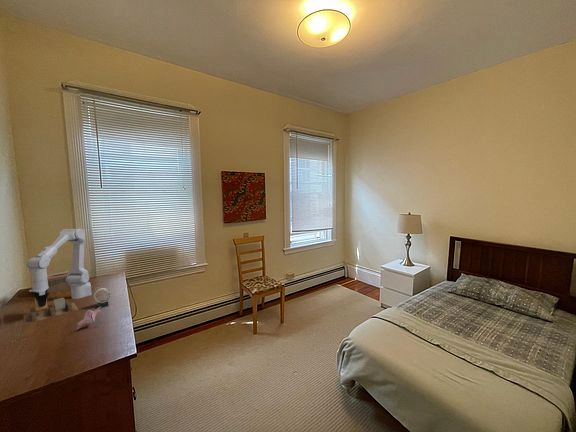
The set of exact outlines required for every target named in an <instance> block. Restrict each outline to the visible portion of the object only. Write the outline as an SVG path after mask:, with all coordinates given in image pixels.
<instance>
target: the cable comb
mask: <svg viewBox="0 0 576 432" xmlns="http://www.w3.org/2000/svg"><path fill="white" fill-rule="evenodd" d="M65 306H66V310H63V311H60V312H55V309H54V304H53V303H47V308H45V309H42V310H38V311H36V308H35V307H32V308H29V311H30V313H28V314H27V313H26V314H24V315H22V316H23V322H24V325H28V324H32V323H36V322H38V321H39V322H40V321H42V320H46V319H50V318H53V317H57V316H60V315H64V314H67V313H71V312H75V311H78V310H79V308H78V307H77V305H76V304H75V302H70V300H69V299H65Z"/></svg>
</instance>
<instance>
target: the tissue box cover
mask: <svg viewBox="0 0 576 432" xmlns="http://www.w3.org/2000/svg"><path fill="white" fill-rule="evenodd" d="M71 270H72V269H71ZM71 270H70V269H69V270H66V271H61V272H54V273H47V279H48V286H49V288H48V291H47V292H49V293H50V294H52V293H51V292H55V293H57V292H56V291H59V292H62V291H61V290H64V291H66V290H65V289H68V290H71V289H70V288H71V285H69V284H68V283H67V281H66V278H67V276H68V272H69V271H71ZM75 274H80V273H75Z"/></svg>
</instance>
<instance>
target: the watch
mask: <svg viewBox="0 0 576 432" xmlns="http://www.w3.org/2000/svg"><path fill="white" fill-rule="evenodd" d="M100 291H103V292H104V293H105V294H106V295H107V296H108V297H107V299H103V300H100V299H98V298H97V297H96V294H97V293H98V292H100ZM111 297H112V292H111V291H110V290H109V289H108V288H107V287H105V288H104V287H102V288H101V287H100V288H98V289H97V290H95V291H94V294H93V299H94V301H96V302H97V306H98V307H97V308H99V307H100V306H101V307H100V309H102V308H107V307H109V300H110V299H111Z"/></svg>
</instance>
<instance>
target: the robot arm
mask: <svg viewBox="0 0 576 432" xmlns="http://www.w3.org/2000/svg"><path fill="white" fill-rule="evenodd" d="M58 234H59V235H58V236H57V237H56V239H55V240H54V241H53V242H52V243H51V245H50V246H49V245H48V246H47V245H46V246H45V247H43V249H41V251H40V252H39V253H37V254H36V256H34V257H32V258H30V259H28V260H27V263H26V268H27V269H28V270H29V272H30V277H31V278H30V279H31V287H32V288H31V289H29V290H28V291H29V293H31V292H32V294H33V295H32V296H33V297H34V299H35V298H36V299H37V302H38V305H39V307H42V306H45V305H46V300H47V301H48V296H49V295H50V294H49V292H47V291H48V288H49V286H48V279H47V275H48V270H47V268H48V267H49V265H50V262H51V260H52V258H53V257H54V256H55V255H56V254H57V253H58V249H59V248H60V247H61V246H63V245H64V244H65V243H66V242H70V243H71V244H72V263H71V264H72V265H71V271H70V270H68V271H69V272H68V276H67V278H66V281H67V283H68V284H69V285H71V289H70V292H71V293H70V294H71V299H74V300H77V299H82V298H85V297H89V296H93V295H92V285H91V282H90V281H89V280H90V274H89V270H87V269H85V268H84V266H85V265H84V263H85V244H86V243H85V241H86V231H85V230H84V229H83V228H63V229H62V230H61V231H59V233H58ZM75 273H80V274H75Z"/></svg>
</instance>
